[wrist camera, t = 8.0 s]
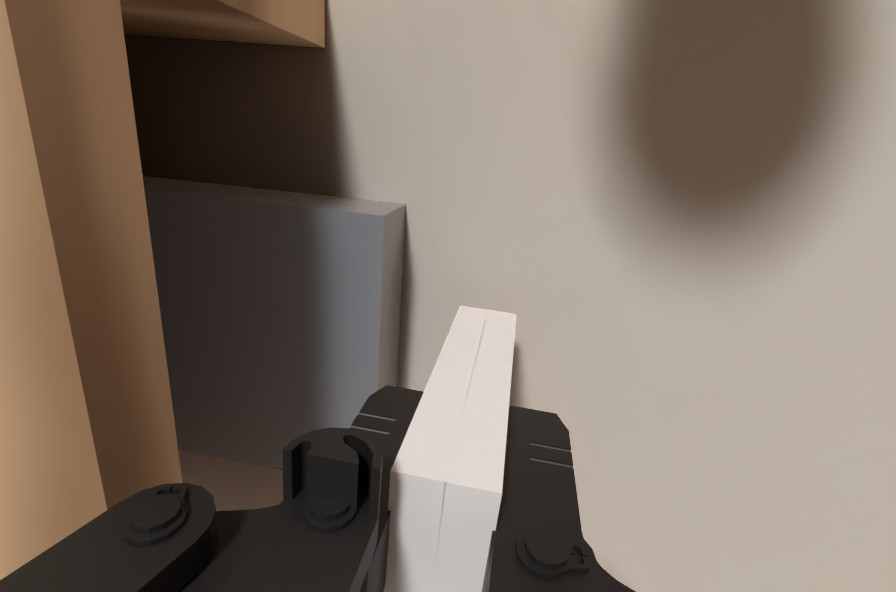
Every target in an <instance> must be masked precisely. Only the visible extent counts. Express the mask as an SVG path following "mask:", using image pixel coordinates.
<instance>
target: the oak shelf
mask: <svg viewBox="0 0 896 592" xmlns="http://www.w3.org/2000/svg"><path fill="white" fill-rule="evenodd" d="M124 34H132V35H147V36H161V37H176V38H190V39H204V40H219V41H233V42H248V43H262V44H276V45H291V46H305V47H320V48H325V0H0V580H1V579H3V578H4V577H6V576H7V575H9V574H11V573H12V572H14V571H15V570H17V569H18V568H20V567H21V566H23V565H24V564H26V563H27V562H29V561H30V560H32V559H33V558H35V557H36V556H38V555H40V554H41V553H43V552H44V551H46V550H47V549H49V548H50V547H52V546H53V545H55V544H56V543H58V542H59V541H61V540H62V539H64V538H65V537H67V536H69V535H70V534H72V533H73V532H75V531H76V530H78V529H79V528H81V527H82V526H84V525H85V524H87V523H88V522H90V521H91V520H93V519H94V518H96V517H98V516H99V515H101V514H102V513H104V512H105V511H107V510H108V509H110V508H111V507H113V506H114V505H116V504H117V503H119V502H120V501H122V500H124V499H126V498H128V497H130V496H132V495H134V494H136V493H138V492H140V491H142V490H144V489H148V488H152V487H155V486H159V485H162V484H170V483H182V475H181V468H180V460H179V452H178V445H177V437H176V429H175V422H174V414H173V406H172V399H171V391H170V383H169V376H168V368H167V360H166V353H165V345H164V337H163V330H162V322H161V314H160V306H159V299H158V291H157V283H156V276H155V268H154V260H153V253H152V245H151V237H150V230H149V222H148V214H147V207H146V199H145V191H144V184H143V176H142V168H141V161H140V153H139V145H138V138H137V130H136V122H135V115H134V107H133V99H132V91H131V84H130V76H129V68H128V61H127V53H126V45H125V38H124Z"/></svg>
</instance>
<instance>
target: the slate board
mask: <svg viewBox="0 0 896 592" xmlns="http://www.w3.org/2000/svg"><path fill="white" fill-rule="evenodd" d="M143 184H144V191H145V199H146V207H147V214H148V222H149V230H150V237H151V245H152V253H153V260H154V268H155V276H156V283H157V291H158V299H159V306H160V314H161V322H162V330H163V337H164V345H165V353H166V360H167V368H168V376H169V383H170V391H171V399H172V406H173V414H174V422H175V429H176V437H177V445H178V450H183V451H188V452H194V453H199V454H204V455H209V456H215V457H220V458H225V459H230V460H236V461H241V462H246V463H251V464H256V465H262V466H267V467H272V468H277V469H283V448H284V447H285V446H287V445H288V444H289V443H290V442H291V441H292V440H294V439H295V438H296V437H299V436H301V435H303V434H306V433H308V432H310V431H312V430H318V429H324V428H330V427H334V428H351V424H352V423H353V421H354V419H355V418H356V416H357V415H359V411H360V410H361V408H362V407H363V405H364V403H365V402H366V400H367V399H368V397H369V396H370V395H372V394H373V393H375V392H376V391H378V390H380V389H381V388H383V387H384V386H386V385H388V386H394V387H397V367H398V348H399V328H400V308H401V289H402V269H403V250H404V230H405V210H406V204H397V203H388V202H379V201H370V200H361V199H351V198H342V197H333V196H324V195H314V194H305V193H296V192H287V191H278V190H268V189H259V188H250V187H241V186H231V185H222V184H213V183H204V182H195V181H185V180H176V179H167V178H158V177H148V176H143Z"/></svg>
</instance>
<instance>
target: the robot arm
mask: <svg viewBox="0 0 896 592" xmlns="http://www.w3.org/2000/svg"><path fill="white" fill-rule="evenodd" d="M516 315H517V314H512V313H506V312H499V311H493V310H486V309H480V308H474V307H467V306H461V305H460V307H459V309H458V312H457V314H456V317H455V319H454V321H453V324H452V326H451V328H450V331H449V333H448V336H447V338H446V340H445V343H444V345H443V347H442V350H441V352H440V355H439V357H438V359H437V362H436V364H435V366H434V369H433V371H432V374H431V376H430V378H429V381H428V383H427V386H426V388H425V390H424V392H422V391H416V390H411V389H405V388H399V387H394V386H388V385H386V386H384V387H383V388H381V389H380V390H378V391H376V392H375V393H373V394H372V395H370V396H369V397H368V399H367V400H366V402H365V403H364V405H363V407H362V408H361V410H360V411H359V415H357V416H356V418H355V419H354V421H353V423H352V424H351V428H334V427H330V428H324V429H318V430H312V431H310V432H308V433H306V434H303V435H301V436H299V437H296V438H295V439H294V440H292V441H291V442H290V443H289V444H288V445H287V446H285V447H284V448H283V490H284V500H283V501H282V503H281V504H280V505H276V506H273V507H268V508H261V509H252V510H235V511H217V512H216V508H215V503H214V499H213V496H212V495H211V494H210V493H209V492H207V491H206V490H205V489H204V488H203V487H200V486H196V485H192V484H188V483H170V484H162V485H159V486H155V487H152V488H148V489H144V490H142V491H140V492H138V493H136V494H134V495H132V496H130V497H128V498H126V499H124V500H122V501H120V502H119V503H117V504H116V505H114V506H113V507H111V508H110V509H108V510H107V511H105V512H104V513H102V514H101V515H99V516H98V517H96V518H94V519H93V520H91V521H90V522H88V523H87V524H85V525H84V526H82V527H81V528H79V529H78V530H76V531H75V532H73V533H72V534H70V535H69V536H67V537H65V538H64V539H62V540H61V541H59V542H58V543H56V544H55V545H53V546H52V547H50V548H49V549H47V550H46V551H44V552H43V553H41V554H40V555H38V556H36V557H35V558H33V559H32V560H30V561H29V562H27V563H26V564H24V565H23V566H21V567H20V568H18V569H17V570H15V571H14V572H12V573H11V574H9V575H7V576H6V577H4V578H3V579H1V580H0V592H636V591H634V590H632V589H630V588H628V587H627V586H625V585H624V584H622V583H620V582H619V581H617V580H616V579H614V578H613V577H612V576H611V575H610V574H609V573H607V572H606V571H605V570H604V569H603V568H602V567H601V566H600V565H599V564H598V562H597V561H596V558H595V555H594V553H593V550H592V548H591V547H590V546H589V545H588V543H587V542H586V541H585V540H584V538H583V535H582V531H581V523H580V515H579V508H578V500H577V492H576V484H575V477H574V469H573V461H572V453H571V446H570V438H569V431H568V429H567V428H566V427H565V425H564V424H563V422H562V421H561V420H560V418H559V417H558V416H557V414H555V413H549V412H544V411H538V410H532V409H527V408H521V407H516V406H510V405H509V401H510V389H511V377H512V364H513V352H514V339H515V327H516Z"/></svg>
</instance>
